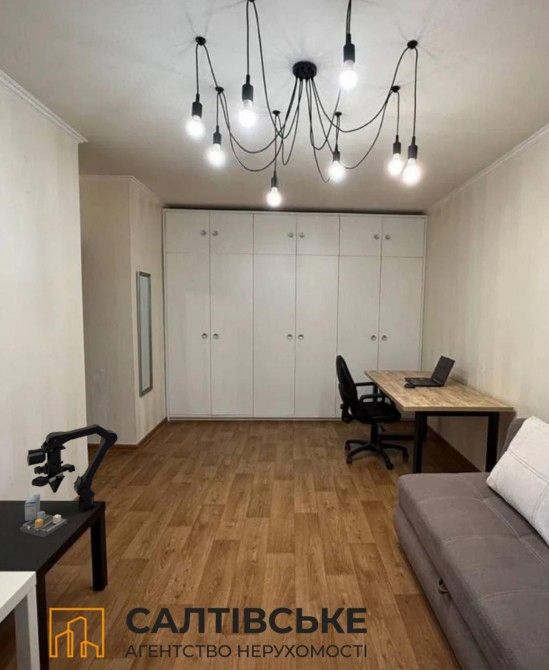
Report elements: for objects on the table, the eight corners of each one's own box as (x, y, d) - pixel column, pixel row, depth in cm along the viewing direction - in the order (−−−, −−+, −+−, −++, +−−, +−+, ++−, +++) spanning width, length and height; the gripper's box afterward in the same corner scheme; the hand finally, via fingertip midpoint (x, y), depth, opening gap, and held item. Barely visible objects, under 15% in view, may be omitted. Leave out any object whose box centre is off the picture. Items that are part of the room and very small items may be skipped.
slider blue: (42, 515, 169) (42, 510, 169) (46, 516, 168) (46, 511, 168) (36, 519, 166) (36, 513, 166) (40, 520, 166) (40, 514, 165)
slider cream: (57, 519, 166) (57, 513, 166) (62, 520, 166) (61, 514, 165) (52, 523, 163) (52, 517, 163) (56, 524, 163) (56, 518, 163)
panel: (44, 516, 171) (44, 511, 171) (67, 522, 167) (67, 517, 167) (19, 531, 160) (19, 525, 160) (44, 537, 156) (43, 532, 156)
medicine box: (29, 512, 175) (29, 495, 175) (40, 510, 177) (40, 493, 176) (24, 521, 168) (24, 503, 167) (36, 519, 169) (35, 501, 169)
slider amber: (40, 523, 163) (40, 517, 163) (44, 524, 162) (44, 518, 162) (33, 527, 160) (33, 521, 160) (38, 528, 159) (37, 522, 159)
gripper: (58, 450, 181) (58, 481, 182) (22, 465, 163) (22, 499, 164) (75, 453, 178) (76, 484, 179) (40, 469, 160) (41, 503, 161)
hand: (54, 492), depth 171 cm, fingers closed
